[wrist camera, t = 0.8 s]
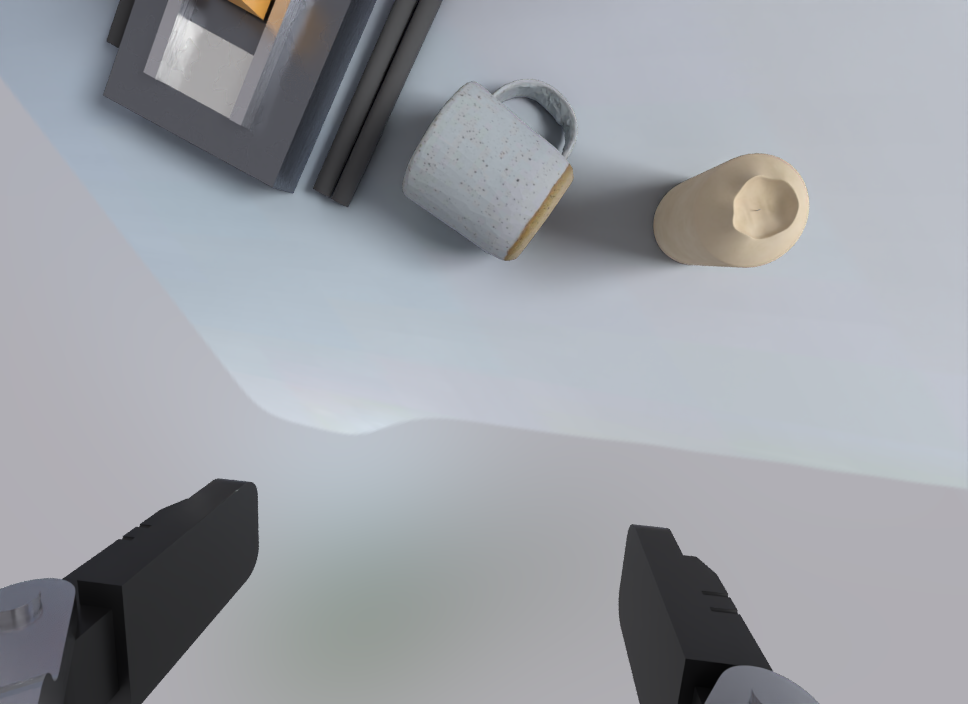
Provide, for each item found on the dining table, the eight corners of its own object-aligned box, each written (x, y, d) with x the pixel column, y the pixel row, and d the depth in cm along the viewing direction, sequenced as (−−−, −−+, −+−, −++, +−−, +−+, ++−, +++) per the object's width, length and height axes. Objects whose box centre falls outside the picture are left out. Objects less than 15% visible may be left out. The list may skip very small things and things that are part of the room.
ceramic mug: (511, 269, 35) (510, 271, 28) (413, 200, 35) (385, 183, 27) (605, 134, 33) (631, 96, 26) (502, 60, 33) (498, -1, 25)
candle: (667, 277, 34) (725, 285, 25) (640, 200, 34) (688, 176, 24) (748, 245, 34) (841, 241, 24) (722, 165, 33) (807, 126, 23)
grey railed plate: (202, -210, 31) (189, -228, 30) (471, -58, 32) (469, -70, 30) (106, 74, 35) (92, 68, 33) (350, 207, 35) (344, 206, 34)
